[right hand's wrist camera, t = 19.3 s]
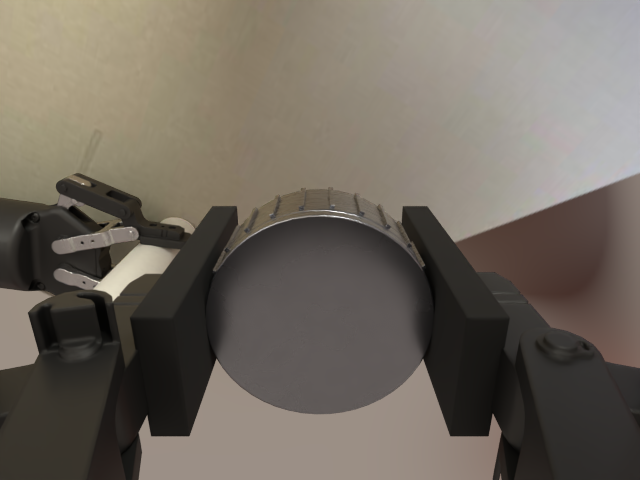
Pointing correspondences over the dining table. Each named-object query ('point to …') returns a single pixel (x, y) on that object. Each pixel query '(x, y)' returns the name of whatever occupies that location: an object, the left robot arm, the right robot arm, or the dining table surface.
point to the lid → (319, 303)
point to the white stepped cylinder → (141, 262)
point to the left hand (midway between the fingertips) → (186, 267)
